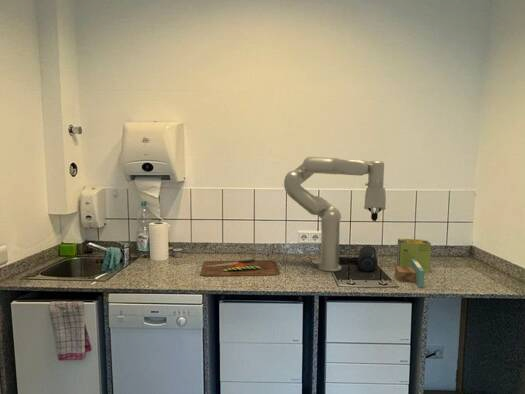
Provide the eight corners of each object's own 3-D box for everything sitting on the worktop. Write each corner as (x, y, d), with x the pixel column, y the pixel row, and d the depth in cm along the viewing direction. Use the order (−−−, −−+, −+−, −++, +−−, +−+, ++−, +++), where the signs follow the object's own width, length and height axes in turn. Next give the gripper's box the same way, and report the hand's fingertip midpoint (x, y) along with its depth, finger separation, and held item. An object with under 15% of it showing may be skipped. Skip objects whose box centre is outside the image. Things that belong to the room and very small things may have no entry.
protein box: (429, 273, 207) (431, 243, 205) (398, 271, 210) (400, 242, 208) (425, 267, 217) (427, 239, 215) (396, 265, 220) (397, 238, 218)
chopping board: (194, 278, 196) (194, 271, 196) (199, 263, 223) (199, 257, 222) (285, 276, 200) (285, 270, 199) (278, 262, 226) (278, 257, 226)
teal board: (419, 287, 183) (420, 270, 183) (410, 274, 203) (411, 259, 202) (423, 287, 183) (424, 270, 182) (414, 274, 203) (415, 259, 202)
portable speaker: (377, 273, 204) (377, 254, 203) (357, 272, 207) (357, 253, 206) (377, 261, 228) (377, 244, 227) (359, 260, 231) (359, 243, 230)
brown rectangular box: (398, 282, 192) (398, 271, 192) (395, 275, 202) (395, 266, 201) (415, 283, 191) (416, 272, 190) (411, 276, 201) (412, 267, 200)
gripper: (361, 185, 200) (359, 221, 202) (391, 186, 197) (390, 222, 199) (360, 184, 207) (358, 219, 209) (389, 185, 205) (388, 220, 207)
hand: (374, 220), depth 204 cm, fingers closed
